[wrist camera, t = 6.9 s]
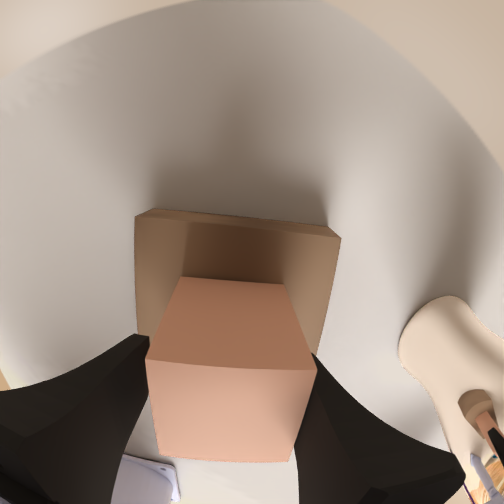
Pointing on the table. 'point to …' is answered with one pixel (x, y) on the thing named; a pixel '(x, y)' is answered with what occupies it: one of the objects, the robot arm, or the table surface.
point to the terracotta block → (229, 372)
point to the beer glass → (462, 387)
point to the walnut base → (233, 261)
